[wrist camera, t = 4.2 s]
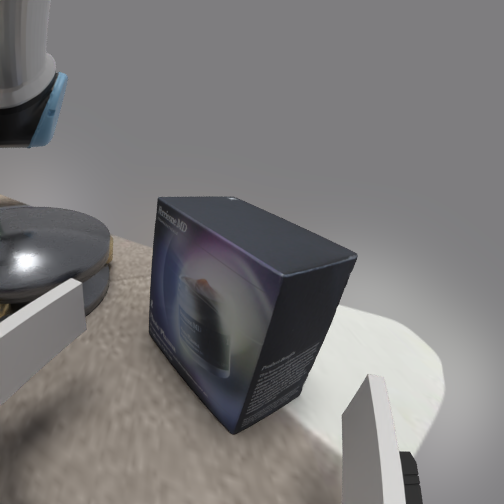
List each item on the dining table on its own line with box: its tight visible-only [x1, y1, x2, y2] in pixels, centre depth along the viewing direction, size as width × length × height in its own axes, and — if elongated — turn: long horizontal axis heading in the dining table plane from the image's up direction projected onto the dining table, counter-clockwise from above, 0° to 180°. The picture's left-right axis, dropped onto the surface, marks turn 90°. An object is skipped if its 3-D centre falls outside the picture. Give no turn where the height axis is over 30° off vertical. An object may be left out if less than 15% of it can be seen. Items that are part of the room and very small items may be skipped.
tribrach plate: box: [0, 207, 113, 318], centre depth 20 cm, size 19×18×5 cm
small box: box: [149, 197, 357, 434], centre depth 17 cm, size 11×6×10 cm, turn 42°
